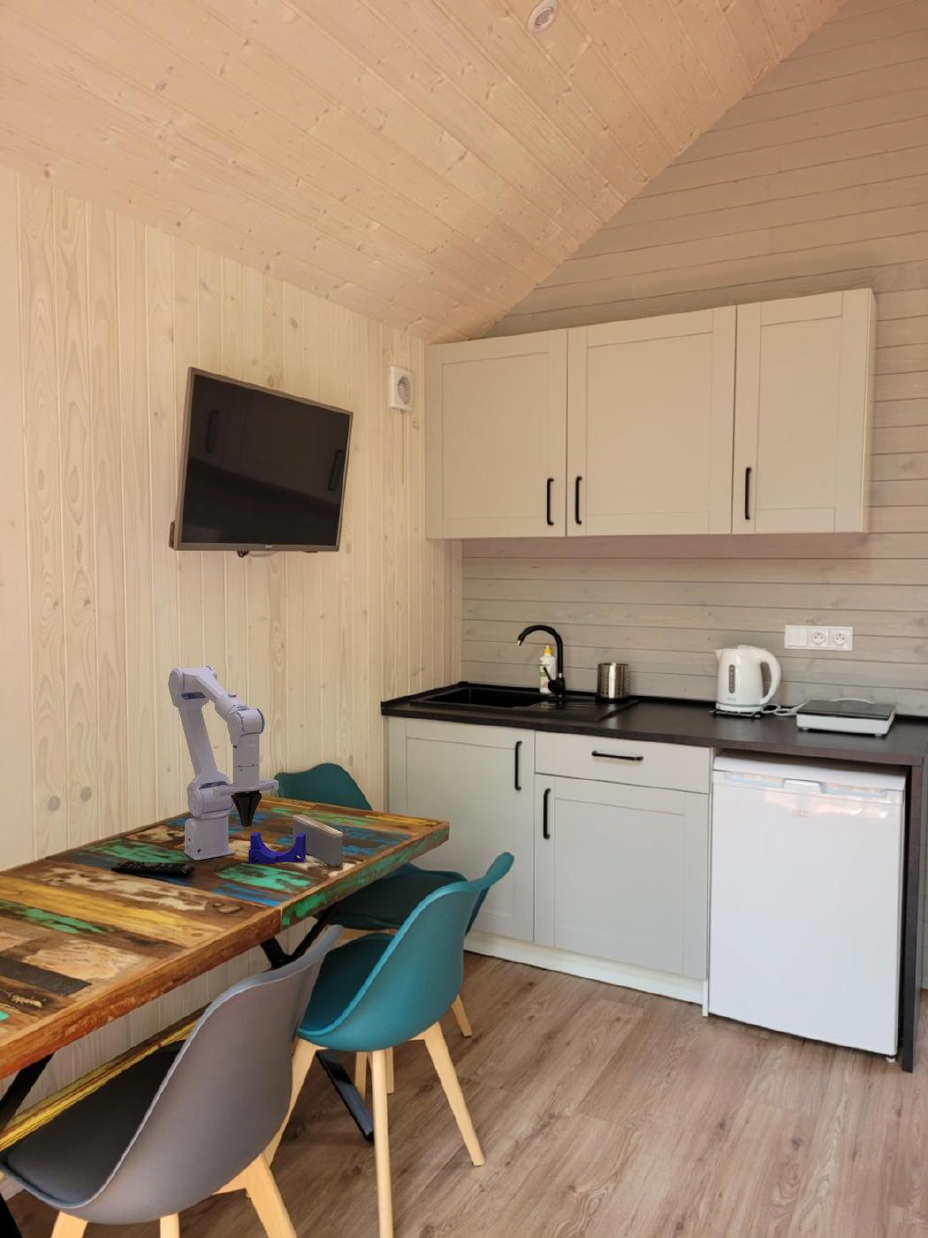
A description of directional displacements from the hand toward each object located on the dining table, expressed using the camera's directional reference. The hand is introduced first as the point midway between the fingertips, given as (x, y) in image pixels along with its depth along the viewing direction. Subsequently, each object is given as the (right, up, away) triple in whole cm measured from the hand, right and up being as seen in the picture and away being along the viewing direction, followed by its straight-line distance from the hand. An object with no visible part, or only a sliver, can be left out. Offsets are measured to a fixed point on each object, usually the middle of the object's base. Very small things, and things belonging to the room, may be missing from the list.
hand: (246, 825), depth 206 cm
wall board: (+14, -9, +11) cm, 20 cm away
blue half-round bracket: (+6, -10, +6) cm, 13 cm away
